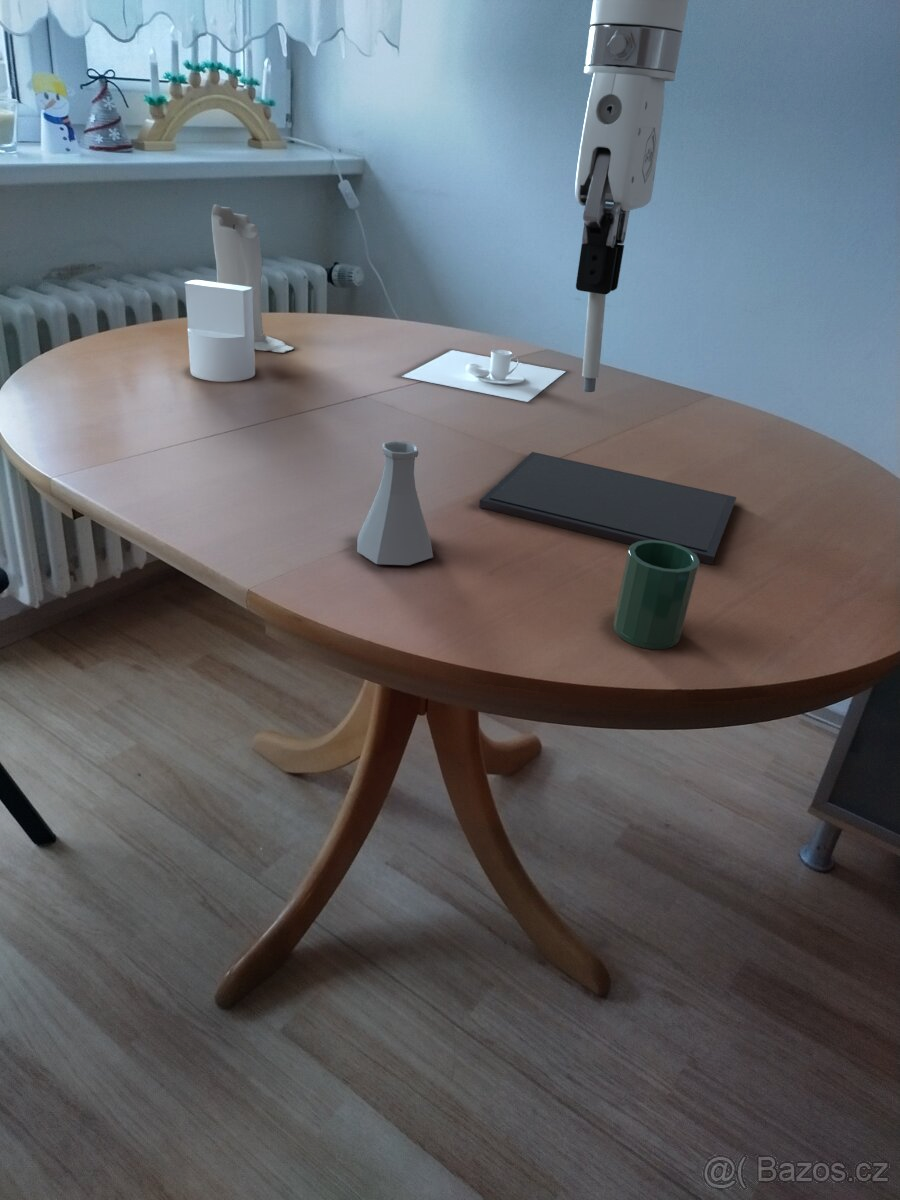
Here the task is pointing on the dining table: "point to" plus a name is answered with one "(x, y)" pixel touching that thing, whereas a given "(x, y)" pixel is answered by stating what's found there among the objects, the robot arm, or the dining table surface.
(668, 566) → the pen holder
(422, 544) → the flask
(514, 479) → the tablet
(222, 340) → the base with upright slab
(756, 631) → the dining table surface
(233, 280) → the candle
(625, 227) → the robot arm
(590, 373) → the stylus
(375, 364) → the dining table surface
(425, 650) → the dining table surface
